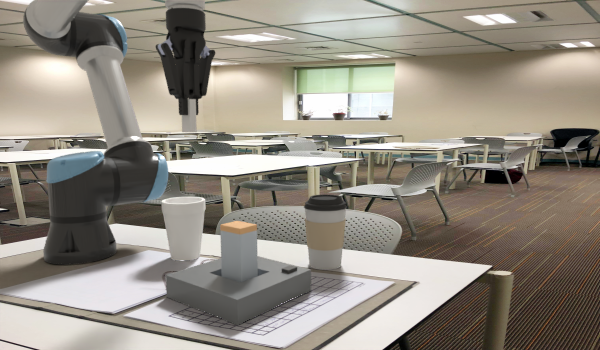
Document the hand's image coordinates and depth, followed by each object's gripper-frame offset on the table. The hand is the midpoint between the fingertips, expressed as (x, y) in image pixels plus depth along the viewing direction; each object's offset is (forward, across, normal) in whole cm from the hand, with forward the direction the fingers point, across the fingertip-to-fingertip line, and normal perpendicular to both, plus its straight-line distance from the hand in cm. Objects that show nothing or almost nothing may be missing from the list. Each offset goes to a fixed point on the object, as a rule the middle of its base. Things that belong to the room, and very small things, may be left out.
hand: (189, 131), depth 94 cm
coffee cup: (+29, +19, -20) cm, 40 cm away
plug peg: (+28, -4, -18) cm, 33 cm away
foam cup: (+29, +4, +8) cm, 30 cm away
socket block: (+28, -4, -18) cm, 34 cm away
